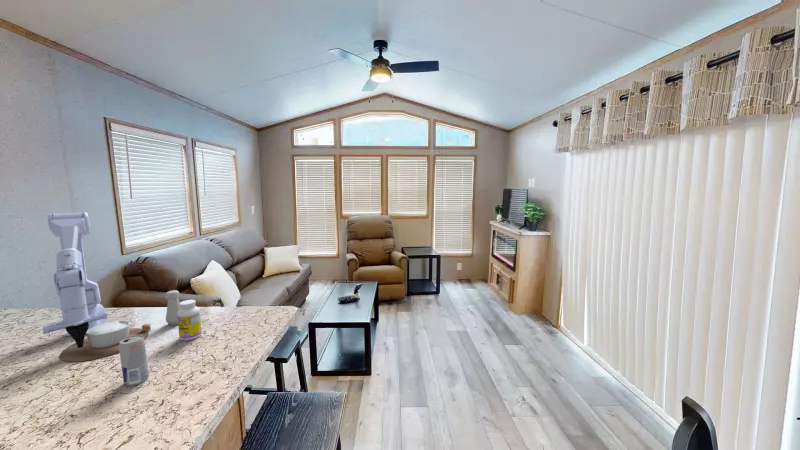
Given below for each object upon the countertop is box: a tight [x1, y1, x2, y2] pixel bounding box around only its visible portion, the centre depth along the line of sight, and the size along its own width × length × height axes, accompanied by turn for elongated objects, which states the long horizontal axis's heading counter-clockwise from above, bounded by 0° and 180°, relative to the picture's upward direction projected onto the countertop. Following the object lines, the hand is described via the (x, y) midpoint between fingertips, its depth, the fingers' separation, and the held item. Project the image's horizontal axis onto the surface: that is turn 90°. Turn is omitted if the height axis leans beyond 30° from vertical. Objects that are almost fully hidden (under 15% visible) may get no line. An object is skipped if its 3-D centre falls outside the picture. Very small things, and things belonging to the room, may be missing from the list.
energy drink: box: [119, 335, 150, 387], centre depth 87 cm, size 5×5×12 cm
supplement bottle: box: [177, 299, 203, 342], centre depth 112 cm, size 7×7×13 cm
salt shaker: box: [165, 289, 181, 327], centre depth 123 cm, size 6×6×13 cm
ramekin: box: [85, 320, 131, 348], centre depth 109 cm, size 11×11×5 cm
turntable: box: [59, 323, 151, 363], centre depth 108 cm, size 22×22×2 cm
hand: (80, 346), depth 103 cm, fingers closed
